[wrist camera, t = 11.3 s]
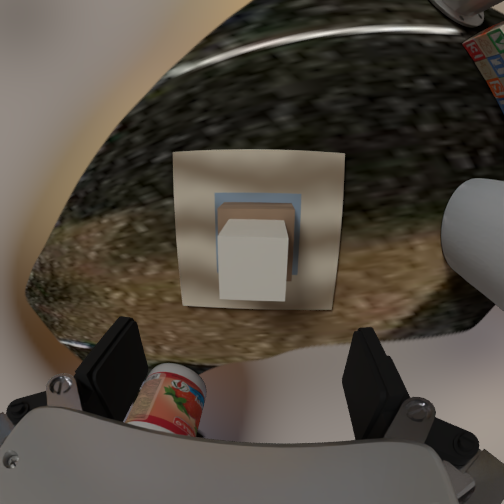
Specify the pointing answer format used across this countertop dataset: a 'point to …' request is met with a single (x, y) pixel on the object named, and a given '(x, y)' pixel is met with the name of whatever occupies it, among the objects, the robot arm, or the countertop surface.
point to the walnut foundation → (261, 213)
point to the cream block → (253, 260)
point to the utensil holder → (477, 236)
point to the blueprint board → (259, 190)
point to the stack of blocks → (490, 58)
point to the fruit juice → (170, 400)
